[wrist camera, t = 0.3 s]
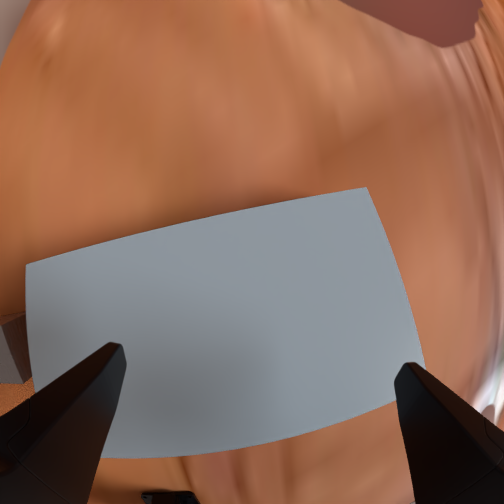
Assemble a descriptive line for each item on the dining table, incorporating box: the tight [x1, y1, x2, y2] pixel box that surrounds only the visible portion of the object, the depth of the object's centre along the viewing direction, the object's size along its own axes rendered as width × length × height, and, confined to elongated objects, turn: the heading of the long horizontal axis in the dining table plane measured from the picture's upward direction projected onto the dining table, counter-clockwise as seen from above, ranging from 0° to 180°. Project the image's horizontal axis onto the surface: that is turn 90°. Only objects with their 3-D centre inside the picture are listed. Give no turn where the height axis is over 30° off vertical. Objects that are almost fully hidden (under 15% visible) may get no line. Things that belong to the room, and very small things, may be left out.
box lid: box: [26, 187, 426, 458], centre depth 14 cm, size 12×22×1 cm, turn 102°
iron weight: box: [0, 312, 32, 384], centre depth 18 cm, size 5×5×5 cm
